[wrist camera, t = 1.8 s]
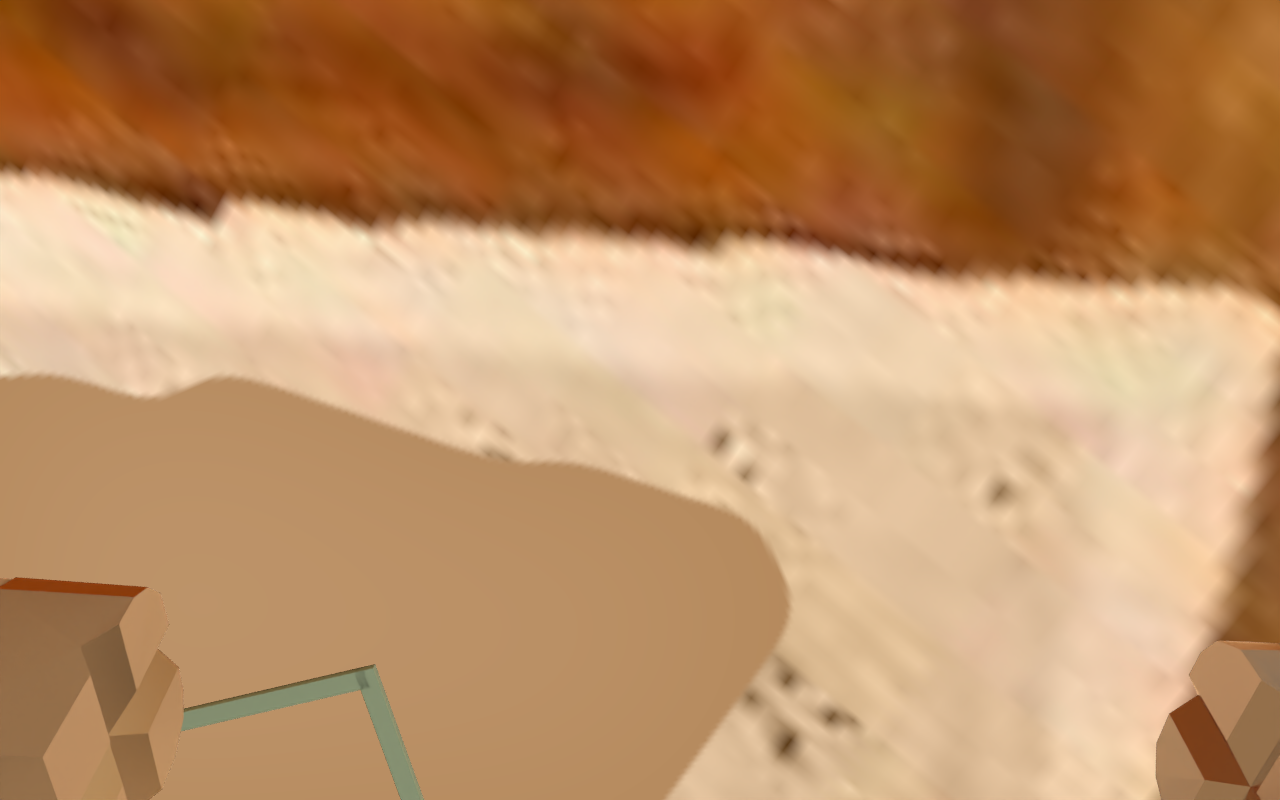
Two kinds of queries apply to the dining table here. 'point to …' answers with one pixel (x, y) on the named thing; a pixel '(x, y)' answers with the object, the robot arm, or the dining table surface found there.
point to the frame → (320, 689)
